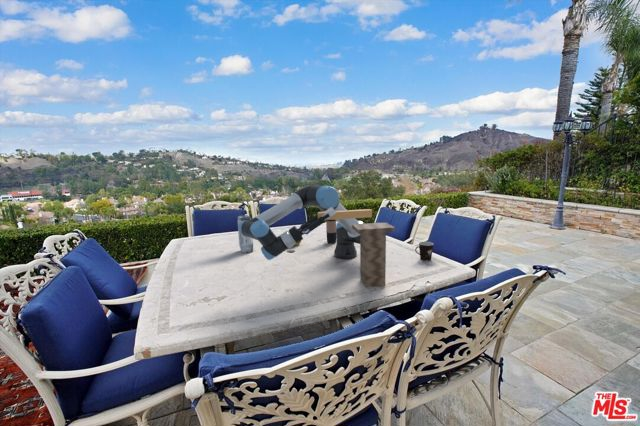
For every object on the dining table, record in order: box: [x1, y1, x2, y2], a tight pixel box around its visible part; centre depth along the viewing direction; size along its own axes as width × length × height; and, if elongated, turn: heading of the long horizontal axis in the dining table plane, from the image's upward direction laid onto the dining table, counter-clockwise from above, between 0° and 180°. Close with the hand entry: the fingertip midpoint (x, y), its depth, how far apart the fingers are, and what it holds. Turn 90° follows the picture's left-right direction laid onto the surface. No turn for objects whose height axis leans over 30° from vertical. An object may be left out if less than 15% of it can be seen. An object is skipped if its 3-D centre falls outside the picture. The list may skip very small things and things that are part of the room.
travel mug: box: [325, 219, 337, 245], centre depth 219 cm, size 8×8×20 cm
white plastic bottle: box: [237, 213, 254, 254], centre depth 203 cm, size 9×10×27 cm
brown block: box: [317, 208, 373, 220], centre depth 137 cm, size 26×3×4 cm, turn 98°
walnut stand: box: [352, 222, 396, 288], centre depth 144 cm, size 18×12×30 cm, turn 98°
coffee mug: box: [414, 241, 434, 261], centre depth 179 cm, size 12×9×10 cm
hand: (333, 210), depth 136 cm, fingers closed on brown block, 3 cm apart
